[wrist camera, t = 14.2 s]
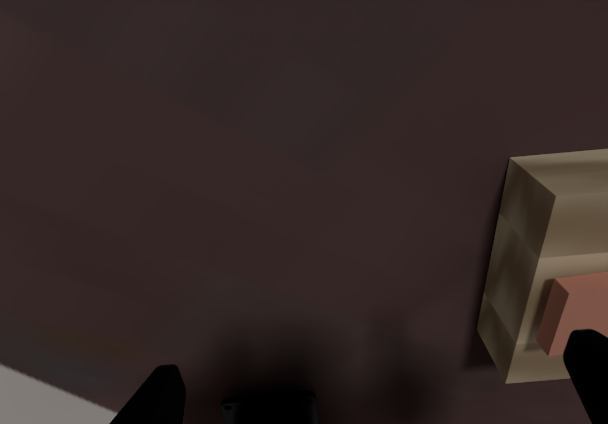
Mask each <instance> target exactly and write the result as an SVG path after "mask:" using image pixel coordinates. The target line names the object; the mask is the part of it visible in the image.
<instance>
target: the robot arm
mask: <svg viewBox="0 0 608 424" xmlns="http://www.w3.org/2000/svg"><path fill="white" fill-rule="evenodd" d="M563 361H564V365H565V367H566V369H567V371H568V373H569V376H570V378H571V380H572V382H573V384H574V386H575V388H576V391H577V393H578V395H579V397H580V399H581V401H582V403H583V406H584V408H585V410H586V412H587V414H588V416H589V419H590V421H591V423H592V424H608V337H606V336H604V335H603V334H601V333H599V332H598V331H596V330H593V329H578V330H573V331H572V332H571V333H570V336H569V338H568V341H567V344H566V347H565V349H564V352H563ZM185 398H186V390H185V385H184V382H183V380H182V377H181V374H180V371H179V369H178V367H177V366H176V365H174V364H171V365H161V366H158V367H157V368H156V369H155V370H154V371H153V372H152V373H151V375H150V376H149V377H148V378H147V379H146V381H145V382H144V383H143V384H142V385H141V387H140V388H139V389H138V390H137V391H136V393H135V394H134V395H133V396H132V397H131V399H130V400H129V401H128V402H127V403H126V404H125V406H124V407H123V408H122V409H121V410H120V412H119V413H118V414H117V415H116V416H115V418H114V419H113V420H112V421H111V423H110V424H183V415H184V406H185ZM221 411H222V415H223V418H224V421H225V424H319V421H318V412H317V402H316V395H315V393H314V392H312V391H304V392H292V393H280V394H268V395H256V396H245V397H233V398H225V399H223V400H222V401H221Z"/></svg>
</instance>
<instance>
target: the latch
mask: <svg viewBox="0 0 608 424" xmlns="http://www.w3.org/2000/svg"><path fill="white" fill-rule="evenodd" d="M578 329H593V330H596V331H598V332H599V333H601V334H603V335H604V336H606V337H608V272H600V273H592V274H585V275H577V276H569V277H561V278H555V279H554V282H553V285H552V289H551V292H550V295H549V298H548V302H547V305H546V308H545V312H544V315H543V318H542V321H541V325H540V328H539V331H538V335H537V338H536V341H537V343H538V344H539V345H540V347H541V348H542V349H543V351H544V352H545V353H546V354H547V356H555V355H563V352H564V349H565V347H566V344H567V341H568V338H569V336H570V333H571V332H572V331H573V330H578Z"/></svg>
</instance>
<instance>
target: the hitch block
mask: <svg viewBox="0 0 608 424" xmlns="http://www.w3.org/2000/svg"><path fill="white" fill-rule="evenodd" d="M600 272H608V149H599V150H588V151H577V152H566V153H555V154H544V155H532V156H521V157H510V160H509V165H508V170H507V175H506V180H505V186H504V191H503V196H502V201H501V206H500V212H499V217H498V222H497V227H496V232H495V237H494V243H493V248H492V253H491V258H490V263H489V268H488V274H487V279H486V284H485V289H484V294H483V299H482V305H481V310H480V315H479V320H478V325H477V331H478V333H479V335H480V337H481V338H482V340H483V342H484V344H485V346H486V348H487V350H488V352H489V354H490V355H491V357H492V359H493V361H494V363H495V365H496V367H497V369H498V370H499V372H500V374H501V376H502V378H503V380H504V382H505V384H507V383H519V382H531V381H543V380H555V379H566V378H570V376H569V373H568V371H567V369H566V367H565V365H564V361H563V355H555V356H547V354H546V353H545V352H544V351H543V349H542V348H541V347H540V345H539V344H538V343H537V341H536V338H537V335H538V331H539V328H540V325H541V321H542V318H543V315H544V312H545V308H546V305H547V302H548V298H549V295H550V292H551V289H552V285H553V282H554V279H555V278H561V277H569V276H577V275H585V274H592V273H600Z"/></svg>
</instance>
